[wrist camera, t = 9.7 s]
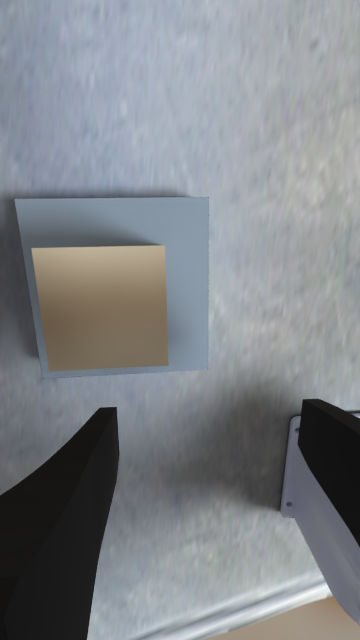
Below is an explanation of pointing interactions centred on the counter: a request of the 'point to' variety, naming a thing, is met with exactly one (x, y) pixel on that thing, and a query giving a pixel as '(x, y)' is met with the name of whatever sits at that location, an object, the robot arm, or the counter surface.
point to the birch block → (103, 306)
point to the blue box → (131, 230)
